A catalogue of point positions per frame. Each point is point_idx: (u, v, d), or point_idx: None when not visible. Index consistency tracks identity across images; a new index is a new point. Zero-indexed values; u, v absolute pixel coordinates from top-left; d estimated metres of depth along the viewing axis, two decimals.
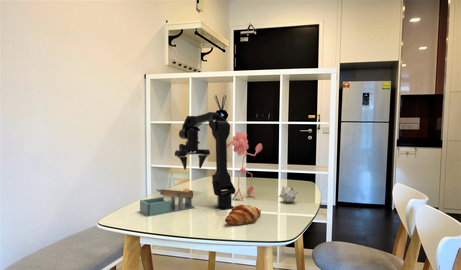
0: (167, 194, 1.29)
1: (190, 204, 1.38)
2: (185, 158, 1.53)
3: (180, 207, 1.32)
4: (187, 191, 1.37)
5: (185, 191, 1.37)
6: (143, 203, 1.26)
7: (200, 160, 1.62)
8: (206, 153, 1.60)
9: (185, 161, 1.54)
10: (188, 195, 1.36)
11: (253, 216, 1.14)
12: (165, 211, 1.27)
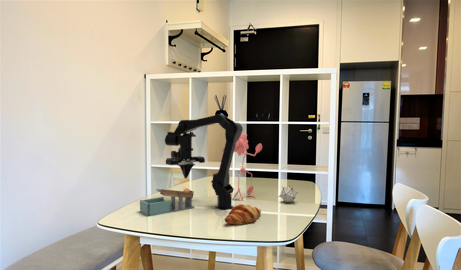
0: (167, 194, 1.29)
1: (190, 204, 1.38)
2: (185, 166, 1.41)
3: (180, 207, 1.32)
4: (187, 191, 1.37)
5: (185, 191, 1.37)
6: (143, 203, 1.26)
7: None
8: (200, 161, 1.46)
9: (185, 169, 1.42)
10: (188, 195, 1.36)
11: (253, 216, 1.15)
12: (165, 211, 1.27)
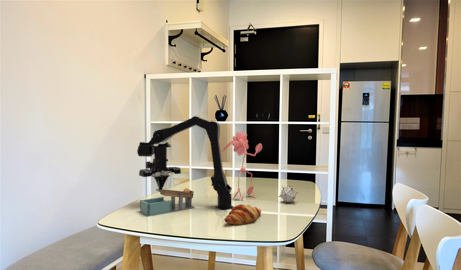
0: (167, 194, 1.29)
1: (190, 204, 1.38)
2: (159, 178, 1.37)
3: (180, 207, 1.32)
4: (187, 191, 1.37)
5: (185, 191, 1.37)
6: (143, 203, 1.26)
7: None
8: (176, 172, 1.42)
9: (160, 181, 1.38)
10: (188, 195, 1.36)
11: (253, 216, 1.15)
12: (165, 211, 1.27)
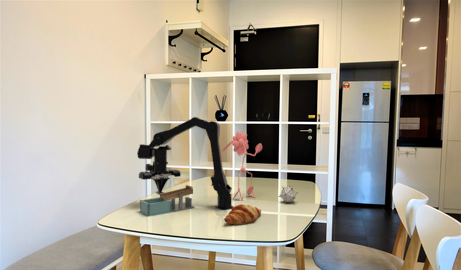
0: (167, 198, 1.29)
1: (190, 204, 1.38)
2: (159, 180, 1.37)
3: (180, 207, 1.32)
4: None
5: None
6: (143, 203, 1.26)
7: None
8: (176, 175, 1.42)
9: (159, 184, 1.38)
10: (188, 192, 1.36)
11: (252, 216, 1.15)
12: (165, 211, 1.27)
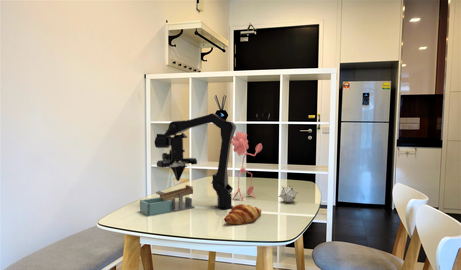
0: (167, 199, 1.29)
1: (190, 204, 1.38)
2: (177, 168, 1.39)
3: (180, 207, 1.32)
4: None
5: None
6: (143, 203, 1.26)
7: None
8: (192, 162, 1.44)
9: (177, 171, 1.39)
10: (188, 192, 1.36)
11: (252, 216, 1.15)
12: (165, 211, 1.27)
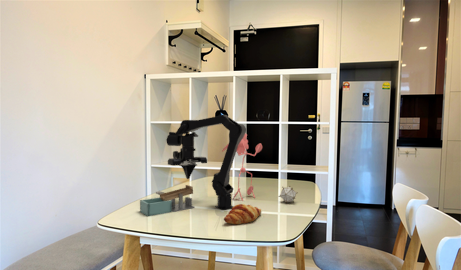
0: (167, 199, 1.29)
1: (190, 204, 1.38)
2: (188, 167, 1.40)
3: (180, 207, 1.32)
4: None
5: None
6: (143, 203, 1.26)
7: None
8: (203, 161, 1.45)
9: (188, 170, 1.41)
10: (188, 192, 1.36)
11: (252, 216, 1.15)
12: (165, 211, 1.27)
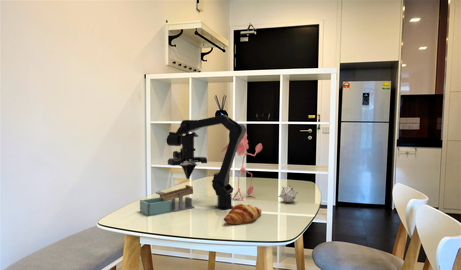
0: (167, 199, 1.29)
1: (190, 204, 1.38)
2: (188, 167, 1.40)
3: (180, 207, 1.32)
4: None
5: None
6: (143, 203, 1.26)
7: None
8: (203, 161, 1.45)
9: (188, 170, 1.41)
10: (188, 192, 1.36)
11: (252, 216, 1.15)
12: (165, 211, 1.27)
